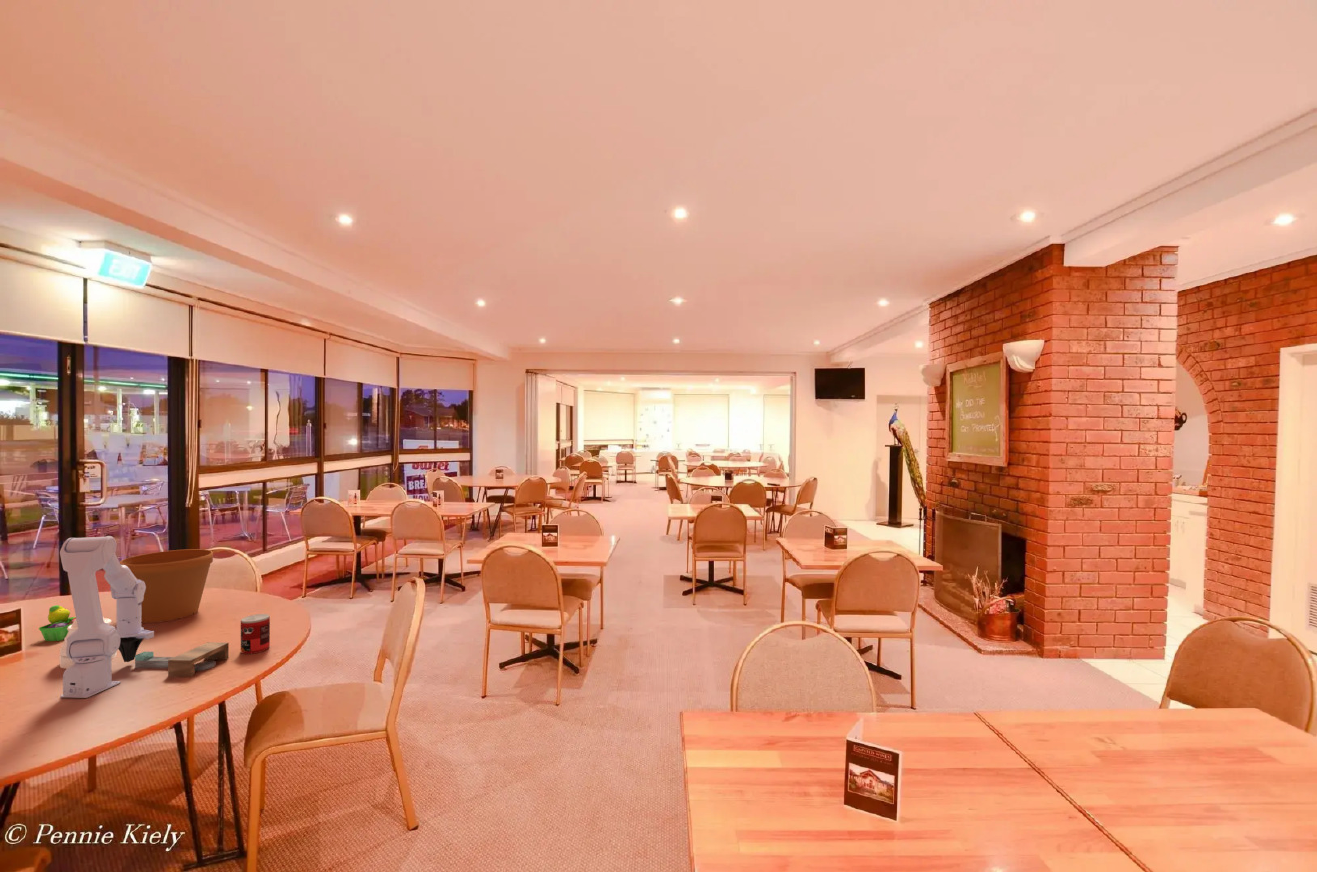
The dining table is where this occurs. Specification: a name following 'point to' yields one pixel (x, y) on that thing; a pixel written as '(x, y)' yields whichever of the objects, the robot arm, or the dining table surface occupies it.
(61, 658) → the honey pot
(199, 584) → the flowerpot
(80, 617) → the robot arm
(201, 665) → the slate coaster
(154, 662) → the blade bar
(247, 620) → the canned food
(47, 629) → the fruit basket
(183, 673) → the wooden bridge block
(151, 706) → the dining table surface
